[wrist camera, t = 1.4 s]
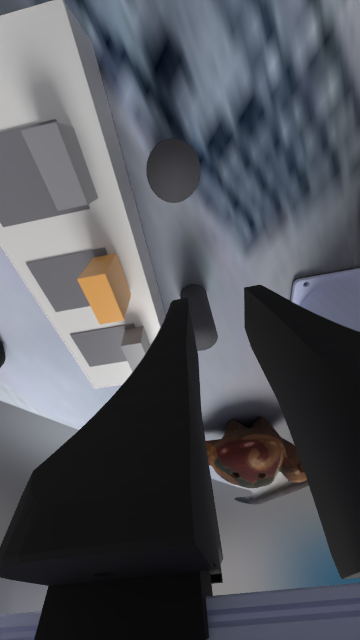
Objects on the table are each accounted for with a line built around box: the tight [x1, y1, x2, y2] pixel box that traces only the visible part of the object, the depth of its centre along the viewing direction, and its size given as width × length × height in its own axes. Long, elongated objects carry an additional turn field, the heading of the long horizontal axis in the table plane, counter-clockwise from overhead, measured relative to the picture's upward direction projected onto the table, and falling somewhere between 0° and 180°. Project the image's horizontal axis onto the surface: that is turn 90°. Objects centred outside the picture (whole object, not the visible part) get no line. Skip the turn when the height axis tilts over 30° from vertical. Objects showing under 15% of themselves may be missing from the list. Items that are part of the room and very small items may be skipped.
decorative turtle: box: [205, 417, 307, 488], centre depth 32 cm, size 10×15×8 cm, turn 106°
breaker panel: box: [0, 0, 166, 389], centre depth 16 cm, size 8×22×6 cm, turn 10°
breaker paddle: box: [77, 253, 131, 325], centre depth 13 cm, size 2×3×3 cm, turn 10°
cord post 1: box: [147, 138, 200, 203], centre depth 12 cm, size 2×2×6 cm
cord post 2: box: [181, 284, 218, 351], centre depth 18 cm, size 2×2×6 cm
